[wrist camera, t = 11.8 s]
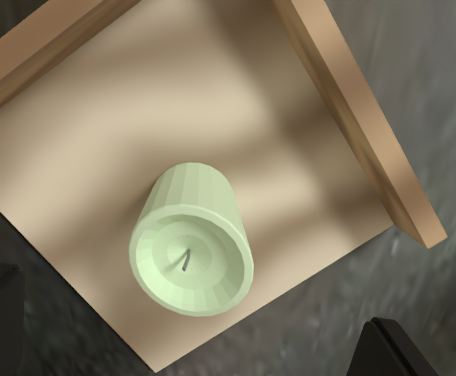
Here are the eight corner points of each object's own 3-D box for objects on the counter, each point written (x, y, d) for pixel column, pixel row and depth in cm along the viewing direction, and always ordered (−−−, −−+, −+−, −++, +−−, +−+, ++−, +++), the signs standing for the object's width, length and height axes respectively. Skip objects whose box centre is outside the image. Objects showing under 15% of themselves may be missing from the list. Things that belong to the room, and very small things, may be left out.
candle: (156, 245, 22) (131, 337, 14) (144, 166, 20) (107, 219, 12) (238, 236, 22) (258, 322, 14) (230, 157, 20) (249, 203, 13)
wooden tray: (406, 211, 23) (447, 237, 19) (156, 367, 25) (148, 419, 21) (234, -101, 17) (243, -153, 14) (-69, 132, 19) (-135, 144, 16)
